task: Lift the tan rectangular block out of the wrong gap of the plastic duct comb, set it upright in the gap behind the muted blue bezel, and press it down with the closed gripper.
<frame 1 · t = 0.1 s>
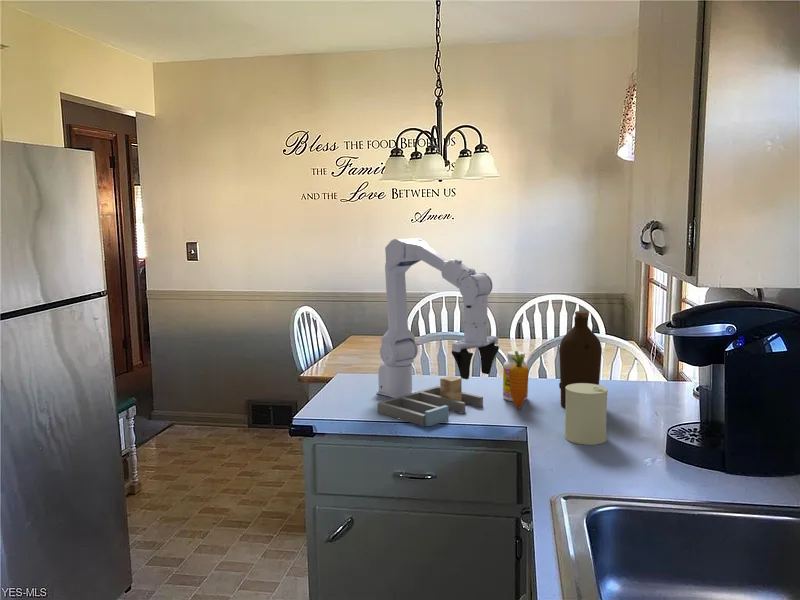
hand: (475, 376, 165), 10 cm above the worktop, fingers open, 7 cm apart
supplement bottle: (515, 399, 180), on the worktop
tan rectangular block: (450, 403, 176), resting in duct comb
can: (585, 438, 148), on the worktop
olive oil: (578, 406, 173), on the worktop
duct comb: (432, 409, 171), on the worktop
carrot: (518, 409, 171), on the worktop
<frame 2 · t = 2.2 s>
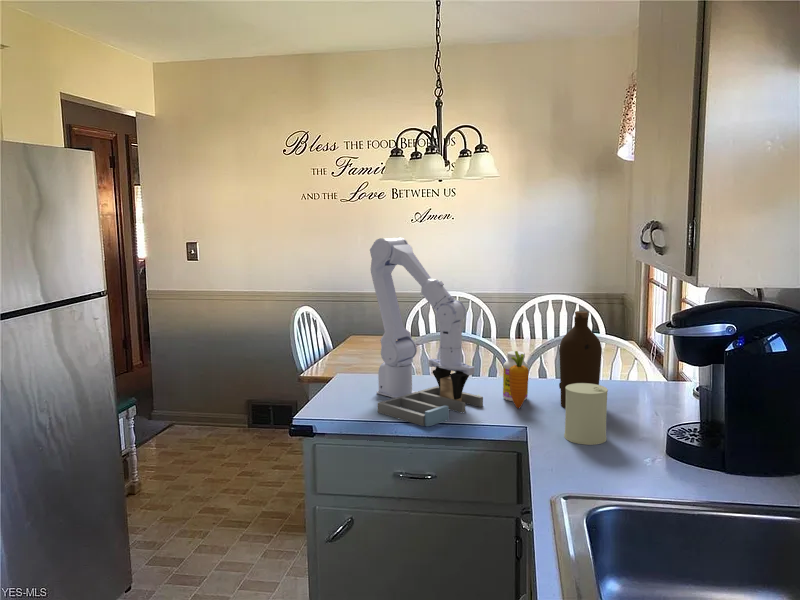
hand: (450, 396, 176), 2 cm above the worktop, fingers closed on tan rectangular block, 4 cm apart
tan rectangular block: (450, 403, 176), resting in duct comb, touching gripper
everything else where it was.
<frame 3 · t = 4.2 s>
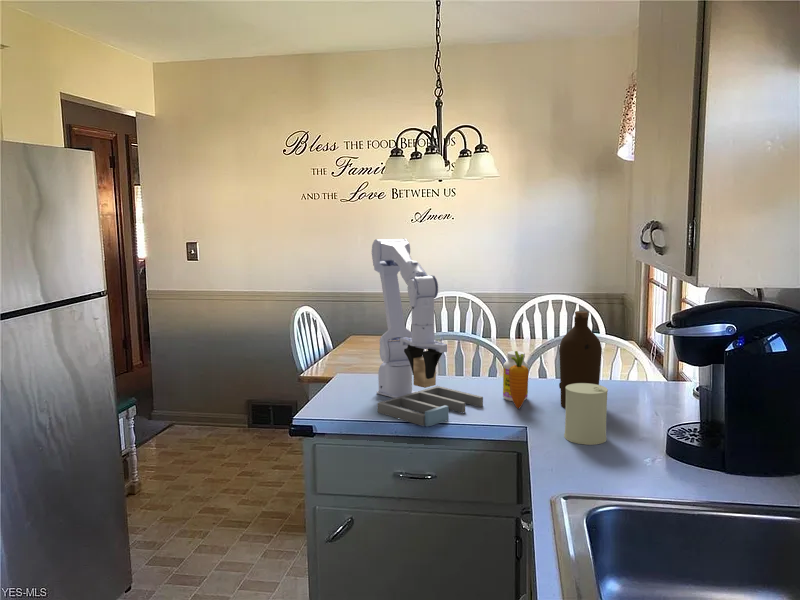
hand: (423, 376, 167), 9 cm above the worktop, fingers closed on tan rectangular block, 4 cm apart
tan rectangular block: (424, 385, 168), point 7 cm above the worktop, touching gripper
everything else where it was.
when the fingers open (3 cm above the worktop, at t = 6.4 s): tan rectangular block drops 1 cm, resting in duct comb.
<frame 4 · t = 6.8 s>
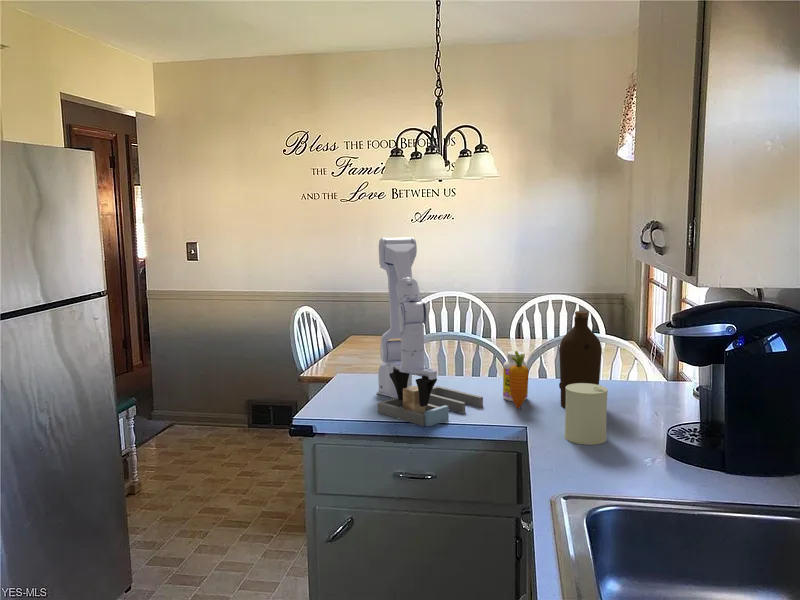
hand: (413, 402, 165), 3 cm above the worktop, fingers open, 7 cm apart
tan rectangular block: (414, 415, 166), resting in duct comb
everything else where it was.
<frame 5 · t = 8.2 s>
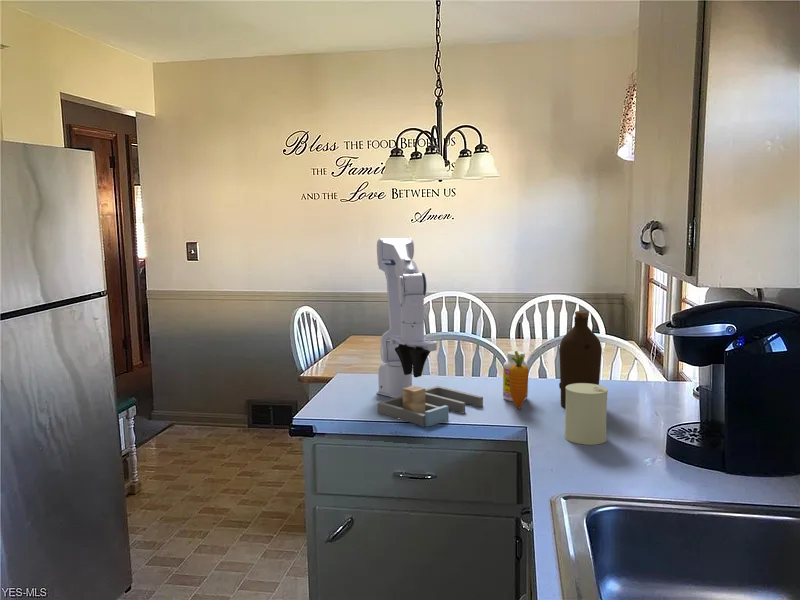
hand: (412, 375, 164), 10 cm above the worktop, fingers open, 3 cm apart
nothing on the worktop moved.
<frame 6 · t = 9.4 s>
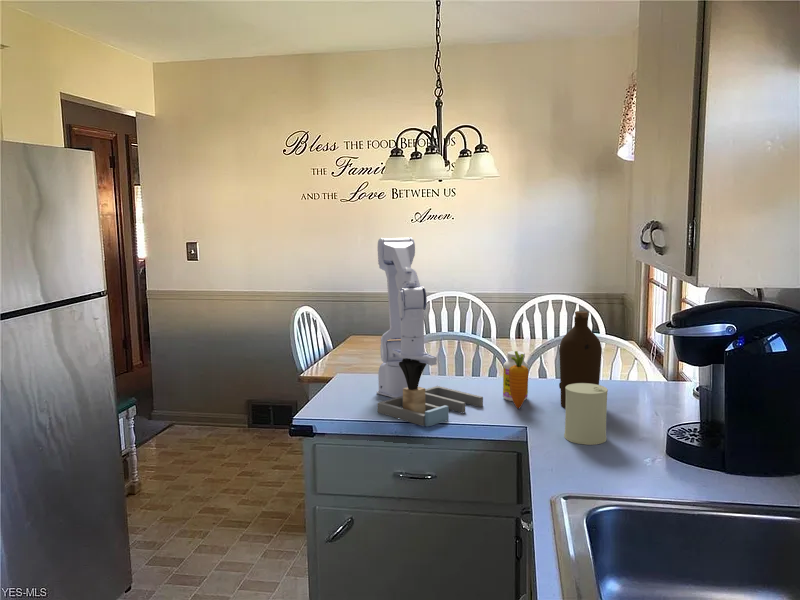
hand: (412, 388, 165), 7 cm above the worktop, fingers closed, pressing on tan rectangular block
tan rectangular block: (414, 415, 166), resting in duct comb, touching gripper
everything else where it was.
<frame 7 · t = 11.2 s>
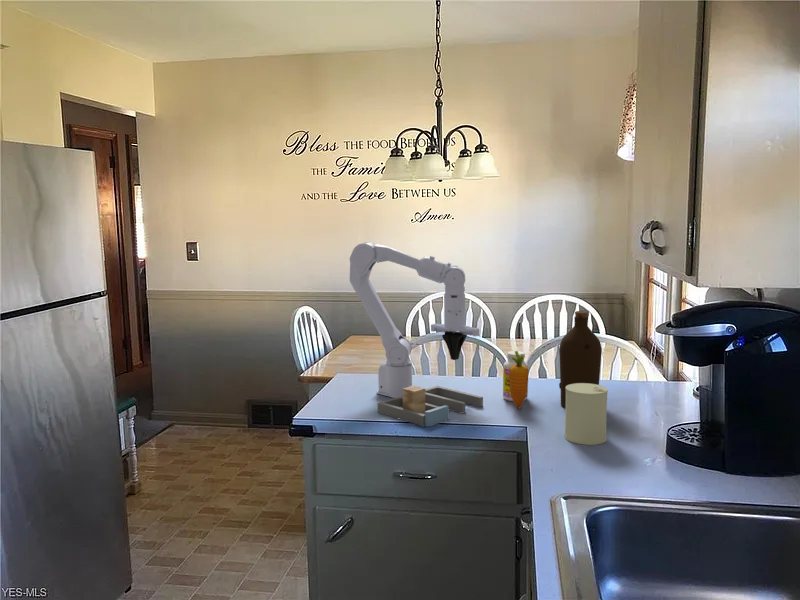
hand: (454, 359, 182), 10 cm above the worktop, fingers closed
tan rectangular block: (414, 415, 166), resting in duct comb
everything else where it was.
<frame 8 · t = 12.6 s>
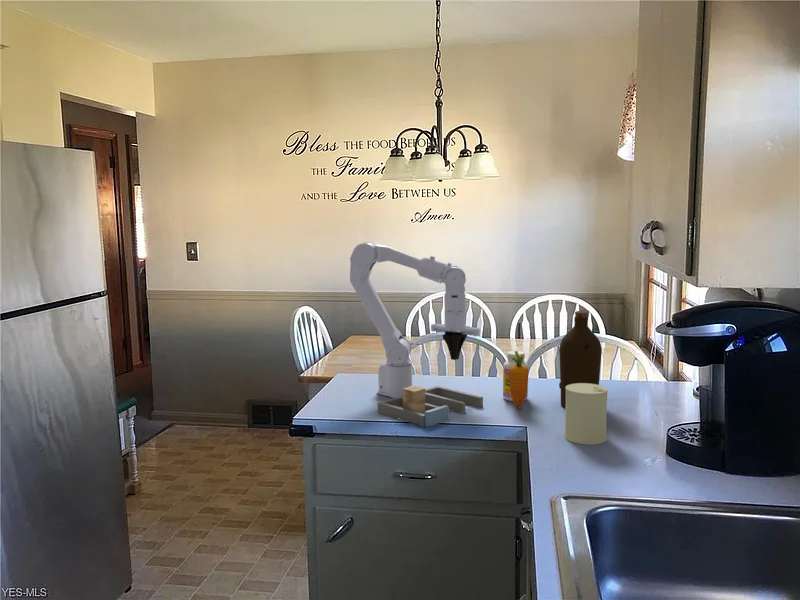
hand: (454, 359, 182), 10 cm above the worktop, fingers closed
nothing on the worktop moved.
at the end: tan rectangular block 0.4 cm from the target spot, resting in duct comb; tan rectangular block tilted 0°; the gripper is holding nothing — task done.
